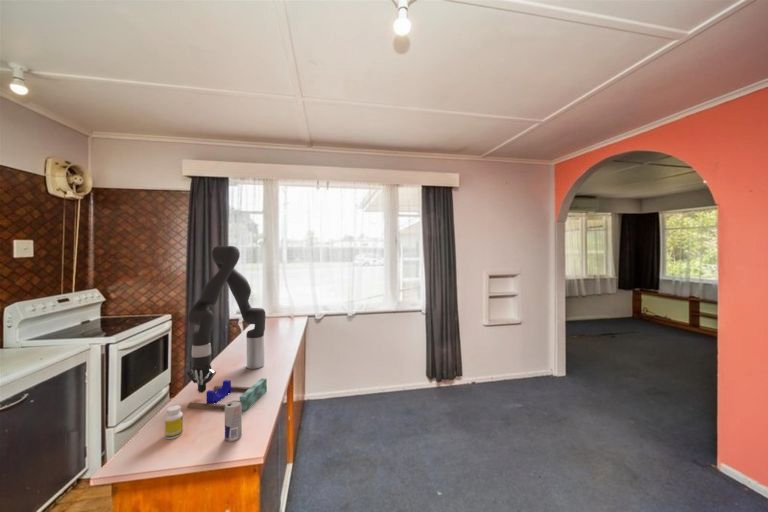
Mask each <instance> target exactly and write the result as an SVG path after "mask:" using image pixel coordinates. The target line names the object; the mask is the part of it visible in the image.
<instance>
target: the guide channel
mask: <svg viewBox="0 0 768 512" xmlns="http://www.w3.org/2000/svg"><path fill="white" fill-rule="evenodd" d="M267 380H268V379H267V378H260V379H259V380H258V381H256V382H255V383H254V384H253V385H251V386H234V385H231V392H242V391H243V393H242V394H241V395H240V396H239V401H240V402H241V405H242V412H246V411H248V410H249V409H250V408H251V407H252V406H253V405H252V404H255V403H256V402H257V401H258V400H260V398H261V397H262V396H264V395H265V393H266V392H267V390H268V388H267V387H268V386H267V383H268V382H267ZM220 387H222V385H214V386H213V391H217V390H218V389H219V388H220ZM225 405H226V404H220V403H216V404H207V402H206V403H204V402H202V403H201V402H189V403H187V408H188V407H189V408H188V409H198V408H202V410H203V408H204V410H215V409H221V410H220V411H225ZM251 405H252V406H251ZM250 406H251V407H250Z"/></svg>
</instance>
